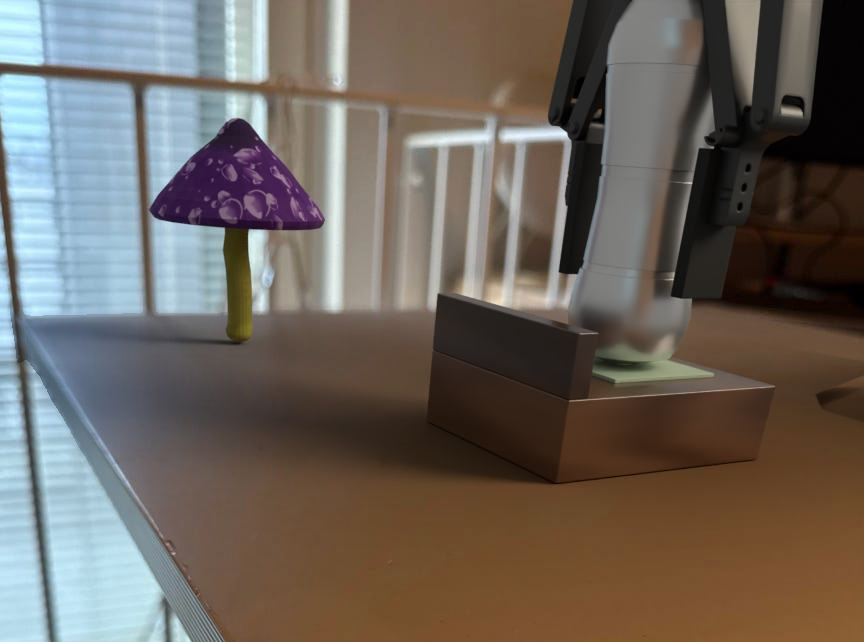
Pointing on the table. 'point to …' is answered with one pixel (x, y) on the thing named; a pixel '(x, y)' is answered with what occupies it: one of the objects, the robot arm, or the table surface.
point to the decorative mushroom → (237, 205)
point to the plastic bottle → (645, 181)
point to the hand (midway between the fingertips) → (634, 284)
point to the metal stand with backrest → (581, 398)
